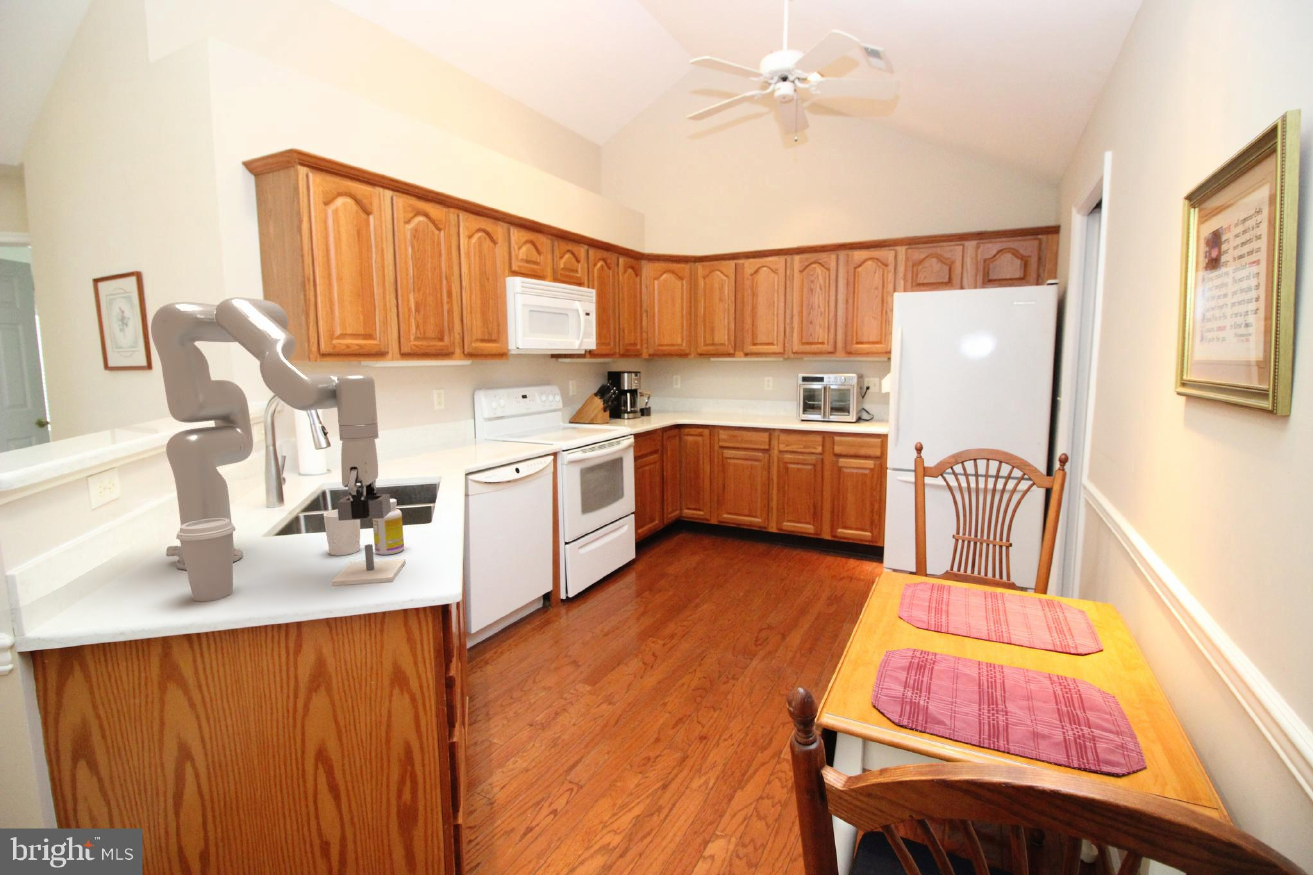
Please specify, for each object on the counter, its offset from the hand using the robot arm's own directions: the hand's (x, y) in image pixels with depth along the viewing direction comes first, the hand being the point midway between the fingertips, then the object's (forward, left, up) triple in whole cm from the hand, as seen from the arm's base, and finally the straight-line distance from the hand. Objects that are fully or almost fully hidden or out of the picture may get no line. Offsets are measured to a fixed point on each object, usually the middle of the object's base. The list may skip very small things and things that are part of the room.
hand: (365, 513), depth 132 cm
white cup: (-11, +18, -14) cm, 25 cm away
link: (0, 0, -1) cm, 1 cm away
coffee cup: (-28, -7, -14) cm, 32 cm away
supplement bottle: (0, +16, -14) cm, 21 cm away
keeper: (0, 0, -14) cm, 14 cm away
